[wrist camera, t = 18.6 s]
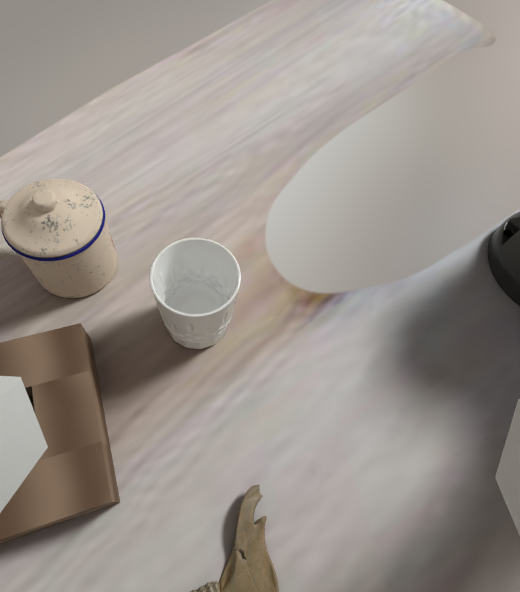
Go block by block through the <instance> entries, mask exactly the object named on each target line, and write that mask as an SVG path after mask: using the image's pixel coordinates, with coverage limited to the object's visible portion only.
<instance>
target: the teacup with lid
mask: <svg viewBox="0 0 520 592" xmlns="http://www.w3.org/2000/svg"><path fill="white" fill-rule="evenodd" d="M0 218H1V227H2V233H3V236H4V239H5V240H6V242H7V243H8V245H9V246H10V247H11V248H12V249H13V250H14V251H15V252H17V253H18V254H19V255H20V256H21V258H22V259H23V261H24V262H25V263H26V265H27V266H28V267H29V269H30V270H31V271H32V273H33V274H34V276H35V277H36V278H37V280H38V281H39V282H40V284H41V285H42V286H43V287H44V288H45V289H46V290H47V291H49V292H50V293H52V294H54V295H57V296H60V297H65V298H80V297H85V296H88V295H91V294H93V293H95V292H97V291H99V290H100V289H102V288H103V287H104V286H106V285H107V284H108V283H109V281H110V280H111V279H112V277H113V276H114V274H115V271H116V269H117V263H118V258H117V252H116V249H115V246H114V244H113V241H112V238H111V235H110V232H109V229H108V226H107V223H106V220H105V210H104V207H103V204H102V202H101V200H100V199H99V197H98V196H97V195H96V194H95V193H94V192H93V191H92V190H91V189H89V188H88V187H86V186H85V185H83V184H81V183H78V182H75V181H72V180H68V179H46V180H41V181H38V182H35V183H32V184H30V185H28V186H26V187H24V188H22V189H21V190H19V191H18V192H17V193H16V194H15V195H14V196H13V197H12V198H11V199H10V200H9V201H8V200H2V201H0Z"/></svg>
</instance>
